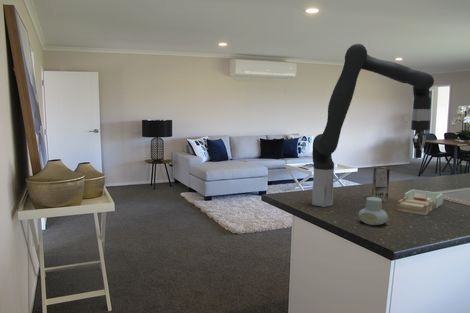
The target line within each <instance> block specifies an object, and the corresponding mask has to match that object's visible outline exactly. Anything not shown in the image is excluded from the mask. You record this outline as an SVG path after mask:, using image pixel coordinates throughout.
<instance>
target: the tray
mask: <svg viewBox="0 0 470 313" xmlns="http://www.w3.org/2000/svg"><path fill="white" fill-rule="evenodd" d="M414 194H421V195H426V196H427V198H431V200H434V209H433V210H436V209H439V207H441V205H443V204H444V193H443V192H435V191H429V190H428V191H427V190H421V189H415V188H413V189H410V190H409V191H407V192H405V193H404V194H403V195H404V197H406V196H408V199H414ZM404 197H403V198H404Z"/></svg>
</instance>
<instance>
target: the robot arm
mask: <svg viewBox="0 0 470 313" xmlns="http://www.w3.org/2000/svg"><path fill="white" fill-rule="evenodd" d="M361 70H364V71H368V72H372V73H374V74H378V75H380V76H382V77H385V78H389V79H391V80H393V81H397V82H398V83H402V84H408V85H410V86H412V91H413V92H412V94H413V102H412V103H413V104H412V113H411V122H410V124H411V126H410V129H411V131H414V135H413V138H412V144H413V148H414V149H415V158H416V159H421V158H422V157H423V156H422V155H423V149H424V148H425V145H426V141H427V135H426V132H425V131H430V129H431V118H432V116H431V114H432V113H431V105H432V98H431V96H430V89H431V88H432V87H433V86H434V84H435V79H434V77H433V75H432V74H430V73H427V72H425V71H421V70H416V69H412V68H410V67H408V66H405V65H403V64H400V63H397V62H395V61H388V60H383V59H378V58H376V57H373V56H371V55H369V54H368V50H367V48H366V47H365V46H364V45H363V44H362V43H354V44H352V45H350V46H349V47H348V48H347V50H346V53H345V54H344V62H343V67H342V71H341V73H340V76H339V77H338V80H337V82H336V84H335V86H334V88H333V90H332V94H331V95H330V98H329V102H328V105H327V120H326V125H325V127H324V130H323V133H320V134H317V135H316V136H314V138H313V141H312V163H313V174H312V177H313V179H312V180H313V183H312V194H311V195H312V197H311V205H312V206H317V207H321V208H325V207H331V206H333V203H334V202H333V201H334V179H335V176H334V174H335V163H334V161H333V158H332V154H333V153H334V152H336V149H337V148H338V145H339V141H340V140H339V139H340V136H341V132H342V129H343V125H344V122H345V120H346V117H347V114H348V112H349V109H350V106H351V104H352V101H353V97H354V93H355V89H356V86H357V81H358V78H359V75H360V72H361Z"/></svg>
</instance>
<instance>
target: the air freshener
mask: <svg viewBox="0 0 470 313" xmlns="http://www.w3.org/2000/svg"><path fill="white" fill-rule="evenodd" d="M382 206H383V201H382V200H381V199H380V198H376V197H372V196H369V197H366V198H365V207H364V208H362V209H361V210H360V211H359V212H358V218H359V220H360V221H361V222H363V223H364V224H366V225H368V226H381V225H383V224H385V223H386V222H387V221H388V220H389V215H388V213H387V212H386V211H385V210H384V209H382Z"/></svg>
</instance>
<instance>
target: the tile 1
mask: <svg viewBox="0 0 470 313" xmlns="http://www.w3.org/2000/svg"><path fill="white" fill-rule="evenodd" d="M414 199H415V200H421V201H427V196H426V195H421V194H414Z"/></svg>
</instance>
